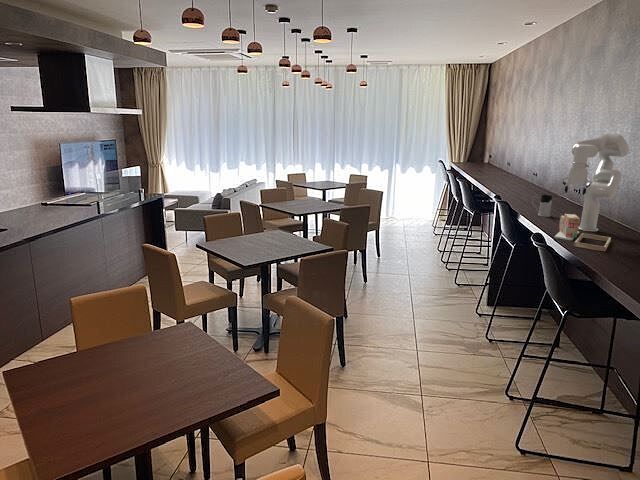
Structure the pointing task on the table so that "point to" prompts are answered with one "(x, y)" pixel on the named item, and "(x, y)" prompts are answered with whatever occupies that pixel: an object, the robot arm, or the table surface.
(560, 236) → the sage mat
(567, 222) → the stack of blocks
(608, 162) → the robot arm
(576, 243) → the beige open rectangular frame
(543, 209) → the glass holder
